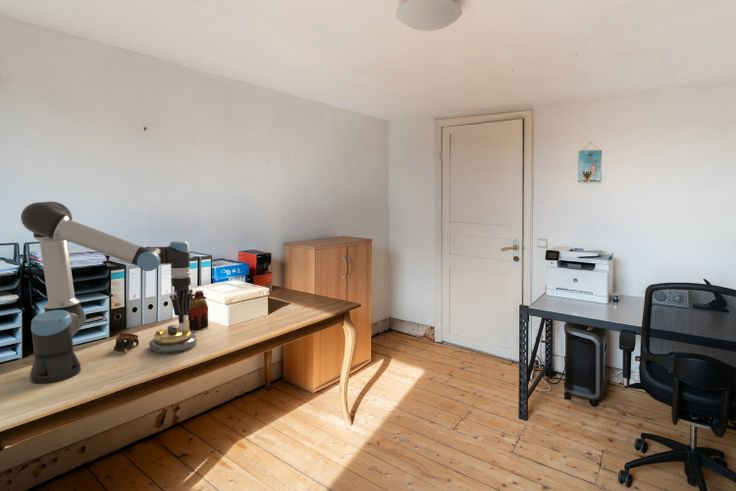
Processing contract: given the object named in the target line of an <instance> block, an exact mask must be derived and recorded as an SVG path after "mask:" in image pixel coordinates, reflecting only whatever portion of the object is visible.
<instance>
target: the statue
mask: <svg viewBox="0 0 736 491" xmlns="http://www.w3.org/2000/svg"><path fill="white" fill-rule="evenodd" d="M206 299H207V296H205V294H204V291H203V290H197V291H196V290H195V291H194V297H191V302H190V311H189V312H187V313H189V314H188V315H187V320H189V329H190V330H191V332H192V331H198V330H203V329H207V328H208V326H209V305H208V303H207V300H206Z"/></svg>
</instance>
